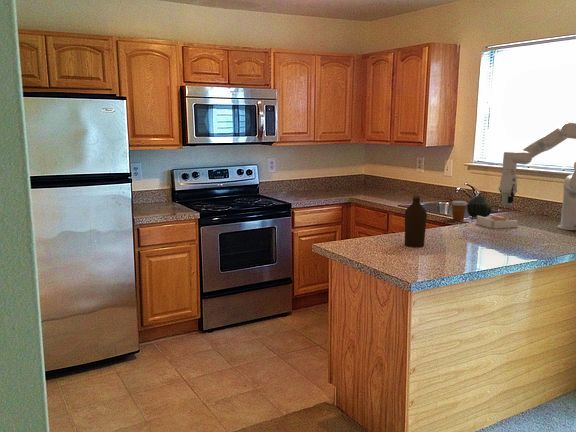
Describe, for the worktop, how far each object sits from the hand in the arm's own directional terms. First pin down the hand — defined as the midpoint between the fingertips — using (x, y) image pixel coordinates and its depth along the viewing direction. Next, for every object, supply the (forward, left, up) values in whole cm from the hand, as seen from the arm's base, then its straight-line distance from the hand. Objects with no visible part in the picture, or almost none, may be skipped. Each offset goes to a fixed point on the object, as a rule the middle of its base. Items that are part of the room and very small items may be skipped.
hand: (506, 201), depth 306 cm
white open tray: (0, +6, -14) cm, 15 cm away
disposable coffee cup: (+22, +18, -14) cm, 32 cm away
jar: (0, 0, -2) cm, 2 cm away
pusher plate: (0, +5, -14) cm, 15 cm away
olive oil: (-38, +80, -14) cm, 90 cm away
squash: (+30, -2, -14) cm, 33 cm away
